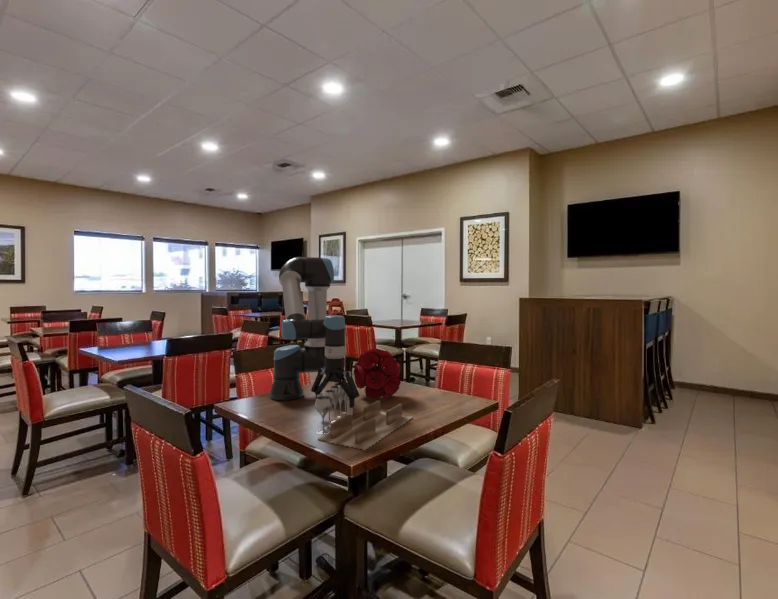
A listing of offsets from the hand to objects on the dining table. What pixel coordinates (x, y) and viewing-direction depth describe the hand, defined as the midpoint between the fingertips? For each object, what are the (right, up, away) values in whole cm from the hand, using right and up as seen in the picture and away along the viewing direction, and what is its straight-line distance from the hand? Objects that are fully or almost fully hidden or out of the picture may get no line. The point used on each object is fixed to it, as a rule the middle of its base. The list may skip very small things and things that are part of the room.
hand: (334, 413), depth 152 cm
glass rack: (+13, -3, -7) cm, 15 cm away
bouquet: (+15, -3, +38) cm, 41 cm away
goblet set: (0, -4, 0) cm, 4 cm away
